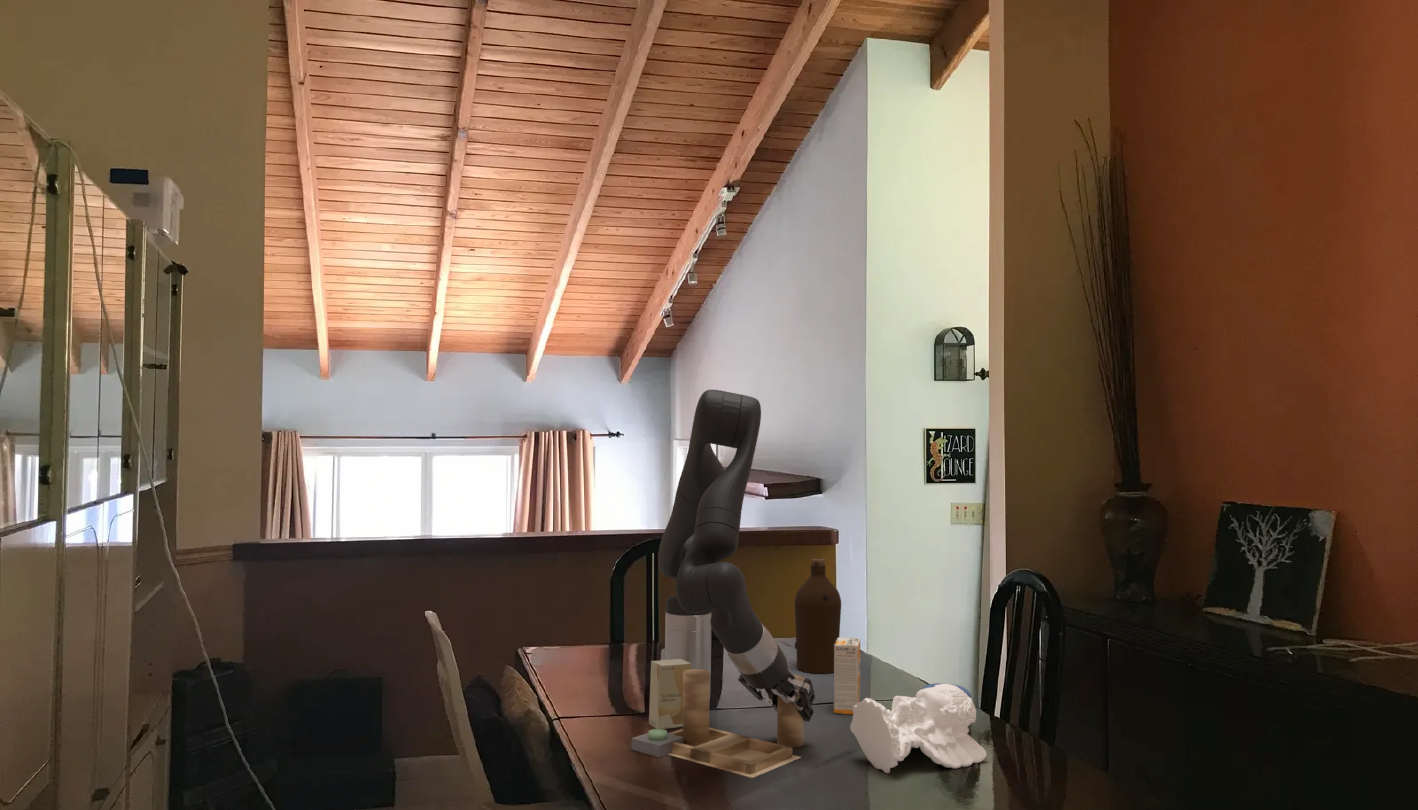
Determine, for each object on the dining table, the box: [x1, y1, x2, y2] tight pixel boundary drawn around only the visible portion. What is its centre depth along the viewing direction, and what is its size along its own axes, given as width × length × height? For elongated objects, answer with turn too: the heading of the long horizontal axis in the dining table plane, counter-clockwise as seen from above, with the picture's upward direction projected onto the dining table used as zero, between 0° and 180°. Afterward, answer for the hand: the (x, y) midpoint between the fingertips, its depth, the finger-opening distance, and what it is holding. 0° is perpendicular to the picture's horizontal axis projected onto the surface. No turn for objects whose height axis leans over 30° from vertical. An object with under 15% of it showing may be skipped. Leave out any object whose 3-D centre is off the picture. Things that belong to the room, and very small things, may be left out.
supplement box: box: [833, 637, 861, 715], centre depth 191 cm, size 8×5×13 cm, turn 168°
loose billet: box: [776, 674, 805, 748], centre depth 164 cm, size 4×4×12 cm
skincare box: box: [648, 659, 691, 730], centre depth 175 cm, size 6×4×12 cm
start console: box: [631, 728, 684, 758], centre depth 160 cm, size 6×6×4 cm
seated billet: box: [682, 669, 711, 747], centre depth 162 cm, size 4×4×12 cm
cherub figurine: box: [849, 683, 988, 774], centre depth 161 cm, size 13×12×20 cm
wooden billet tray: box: [666, 726, 802, 779], centre depth 159 cm, size 22×13×3 cm, turn 51°
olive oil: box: [794, 558, 842, 675], centre depth 225 cm, size 11×11×25 cm
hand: (796, 713), depth 166 cm, fingers closed on loose billet, 4 cm apart
